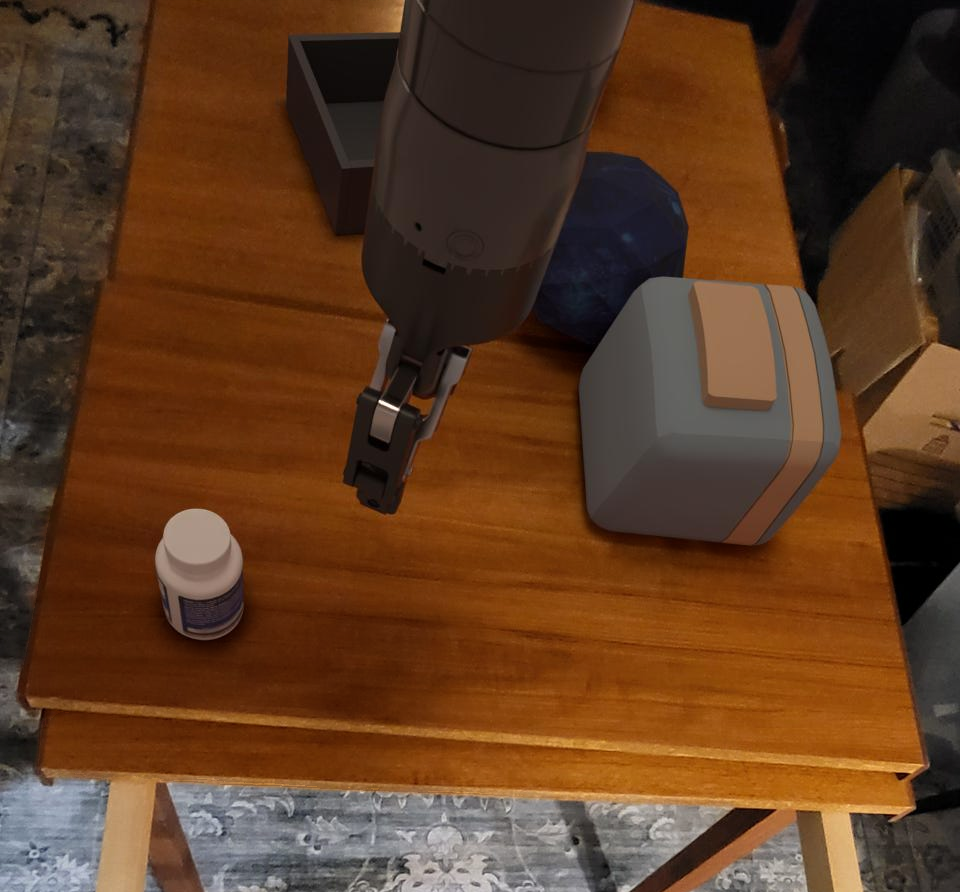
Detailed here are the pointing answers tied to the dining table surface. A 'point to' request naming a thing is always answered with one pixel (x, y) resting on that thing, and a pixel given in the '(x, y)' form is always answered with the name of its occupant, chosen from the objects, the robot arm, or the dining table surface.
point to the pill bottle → (200, 575)
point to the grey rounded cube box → (708, 411)
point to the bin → (340, 114)
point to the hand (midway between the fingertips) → (407, 443)
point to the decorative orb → (611, 245)
